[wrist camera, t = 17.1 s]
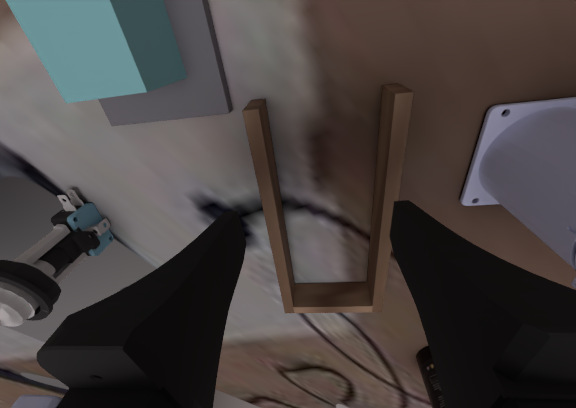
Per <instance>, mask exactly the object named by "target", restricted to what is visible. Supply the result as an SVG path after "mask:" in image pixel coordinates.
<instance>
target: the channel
mask: <svg viewBox="0 0 576 408" xmlns="http://www.w3.org/2000/svg"><path fill="white" fill-rule="evenodd" d="M413 94H414V92H413V91H411V90H409V89H408V88H406V87H404V86H402V85H400V84H398V83H397V84H388V85H382V97H381V110H380V122H379V135H378V147H377V160H376V172H375V185H374V197H373V210H372V222H371V235H370V247H369V260H368V272H367V282H346V283H306V284H295V283H294V277H293V270H292V264H291V258H290V251H289V245H288V239H287V233H286V226H285V220H284V214H283V207H282V201H281V195H280V189H279V182H278V176H277V170H276V163H275V157H274V151H273V145H272V138H271V132H270V126H269V119H268V113H267V107H266V101H265V99H257V100H251V101H250V102H249V104H248V105H247V106H246V107H245V108H244V110H243V116H244V121H245V126H246V130H247V135H248V140H249V144H250V149H251V154H252V159H253V163H254V168H255V173H256V178H257V182H258V187H259V192H260V197H261V201H262V206H263V211H264V215H265V220H266V225H267V230H268V234H269V239H270V244H271V249H272V253H273V258H274V263H275V268H276V272H277V277H278V282H279V286H280V291H281V296H282V301H283V305H284V310H285V313H340V312H382V308H383V301H384V294H385V287H386V281H387V274H388V267H389V260H390V253H391V246H392V244H391V241H390V237H389V235H390V228H391V221H392V213H393V206H394V201H398V198H399V191H400V184H401V177H402V170H403V163H404V156H405V149H406V143H407V136H408V129H409V122H410V115H411V108H412V101H413Z"/></svg>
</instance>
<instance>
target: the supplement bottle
mask: <svg viewBox="0 0 576 408" xmlns="http://www.w3.org/2000/svg"><path fill="white" fill-rule="evenodd" d="M417 362H418V366H419V369H420V372H421V375H422V378H423V381H424V384H425V387H426V390H427V393H428V396H429V399H430V402H431V405H432V408H445V404H444V400H443V396H442V392H441V388H440V384H439V381H438V377H437V373H436V370H435V366H434V362H433V359H432V355H431V352H430V348H429V347H427V348H425V349H423V350H422V351H420V353H419V354H418V356H417Z"/></svg>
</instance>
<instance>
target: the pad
mask: <svg viewBox="0 0 576 408" xmlns="http://www.w3.org/2000/svg"><path fill="white" fill-rule="evenodd" d="M163 1H164V5H165V8H166V11H167V14H168V17H169V20H170V24H171V27H172V30H173V33H174V36H175V40H176V43H177V46H178V49H179V52H180V55H181V59H182V62H183V65H184V68H185V71H186V74H187V78H185V79H182V80H179V81H176V82H174V83H171V84H168V85H165V86H163V87H160V88H157V89H154V90H152V91H149V92H145V93H137V94H130V95H123V96H115V97H108V98H101V99H98V100H99V102H100V104H101V106H102V108H103V110H104V112H105V114H106V116H107V118H108V120H109V122H110V124H111V125H112V126H118V125H127V124H136V123H145V122H155V121H164V120H173V119H182V118H191V117H200V116H209V115H218V114H227V113H230V112H231V111H232V110H233V109H232V104H231V100H230V96H229V91H228V87H227V83H226V78H225V74H224V70H223V65H222V61H221V57H220V53H219V48H218V44H217V40H216V35H215V31H214V27H213V22H212V18H211V14H210V9H209V5H208V1H207V0H163Z"/></svg>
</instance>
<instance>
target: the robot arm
mask: <svg viewBox="0 0 576 408" xmlns="http://www.w3.org/2000/svg"><path fill="white" fill-rule="evenodd" d="M506 109H507V110H506ZM504 110H506V113H505V114H504V115H501V114H502V112H503V111H504ZM475 198H476V199H475ZM473 199H475V200H474V201H472V200H473ZM460 202H461V203H462V204H463V205H464V206H475V205H492V204H501V205H502V206H503V207H504V208H506V209H507V210H508V211H509V212H510V213H511V214H512V215H514V216H515V217H516V218H517V219H518V220H519V221H520V222H521V223H523V224H524V225H525V226H526V227H527V228H528V229H529V230H531V231H532V232H533V233H534V234H535V235H536V236H537V237H538V238H540V239H541V240H542V241H543V242H544V243H545V244H546V245H548V246H549V247H550V248H551V249H552V250H553V251H554V252H556V253H557V254H558V255H559V256H560V257H561V258H562V259H563V260H565V261H566V262H567V263H568V264H569V265H570V266H571V267H573V268H574V269H575V270H576V97H570V98H560V99H551V100H541V101H531V102H521V103H511V104H501V105H495V106H493V107H491V108H490V109H489V110H488V111H487V113H486V117H485V120H484V123H483V126H482V130H481V133H480V136H479V140H478V143H477V146H476V149H475V153H474V156H473V159H472V162H471V166H470V169H469V172H468V176H467V179H466V182H465V185H464V189H463V192H462V195H461V198H460ZM389 237H390V241H391V244H392V248H393V251H394V255H395V258H396V260H397V262H398V265H399V267H400V269H401V272H402V274H403V276H404V278H405V281H406V283H407V285H408V288H409V290H410V292H411V294H412V297H413V299H414V302H415V304H416V307H417V309H418V312H419V316H420V319H421V322H422V325H423V328H424V331H425V335H426V338H427V341H428V345H429V348H430V352H431V355H432V359H433V362H434V366H435V370H436V373H437V377H438V381H439V384H440V388H441V392H442V396H443V400H444V404H445V408H576V290H574V289H571V288H569V287H566V286H563V285H561V284H558V283H556V282H553V281H550V280H548V279H545V278H543V277H541V276H538V275H536V274H533V273H531V272H529V271H526V270H524V269H522V268H520V267H518V266H515V265H513V264H511V263H509V262H507V261H505V260H503V259H500V258H498V257H496V256H495V255H493V254H491V253H489V252H487V251H485V250H483V249H481V248H479V247H478V246H476V245H474V244H472V243H471V242H469V241H467V240H466V239H464V238H462V237H461V236H459V235H458V234H456V233H454V232H453V231H451V230H450V229H448V228H447V227H445V226H444V225H442V224H441V223H440V222H438V221H437V220H435V219H434V218H432V217H431V216H430V215H428V214H427V213H426V212H424V211H423V210H421V209H420V208H419V207H417V206H416V205H415V204H413V203H412V202H410V201H409V200H406V201H394V206H393V213H392V221H391V228H390V235H389ZM245 248H246V240H245V236H244V233H243V229H242V226H241V222H240V219H239V215H238V212H237V211H228V212H224V213H223V214H222V215H221V216H220V217H219V218H217V219H216V220H215V221H214V222H213V223H212V224H211V225H210V226H209V227H208V228H207V229H206V230H205V231H204V232H203V233H201V234H200V235H199V236H198V237H197V238H196V239H195V240H194V241H192V242H191V243H190V244H189V245H188V246H187V247H185V248H184V249H183V250H182V251H181V252H179V253H178V254H177V255H176V256H174V257H173V258H172V259H170V260H169V261H167V262H166V263H165V264H163V265H162V266H160V267H159V268H157V269H156V270H154V271H153V272H151V273H150V274H148V275H147V276H145V277H143V278H142V279H140V280H138V281H137V282H135V283H133V284H132V285H130V286H128V287H126V288H124V289H123V290H121V291H119V292H117V293H115V294H114V295H111V296H109V297H107V298H105V299H104V300H101V301H99V302H97V303H95V304H93V305H91V306H89V307H86V308H85V309H82V310H80V311H78V312H76V313H74V314H71V315H69V316H67V318H66V319H65V320H64V321H63V322H62V324H61V325H60V326H59V327H58V328H57V330H56V331H55V332H54V333H53V335H51V337H50V338H49V339H48V340H47V341H46V343H45V344H44V345H43V346H42V347H41V349H40V350H39V351H38V352H37V361H38V363H39V364H40V366H41V367H42V368H43V369H45V370H46V371H47V372H48V373H50V374H51V375H53V376H54V377H55V378H57V379H58V380H60V381H61V382H62V383H64V384H66V386H68V387H69V390H68V391H67V393H66V394H65V396H64V397H63V398H60V397H57V396H51V395H22V396H20V397H19V398H18V399H17V401H16V402H15V403H14V404H13V406H12V407H11V408H213V401H214V394H215V386H216V378H217V372H218V365H219V359H220V352H221V347H222V341H223V336H224V330H225V325H226V320H227V315H228V311H229V307H230V303H231V300H232V297H233V293H234V290H235V287H236V284H237V281H238V277H239V274H240V271H241V268H242V264H243V260H244V255H245ZM571 285H572V286H573V287H575V288H576V277H575V279H574V280H573V281H572V283H571Z"/></svg>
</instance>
